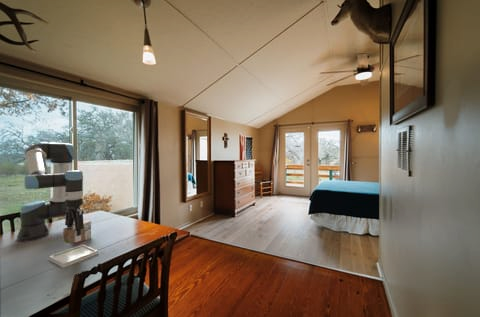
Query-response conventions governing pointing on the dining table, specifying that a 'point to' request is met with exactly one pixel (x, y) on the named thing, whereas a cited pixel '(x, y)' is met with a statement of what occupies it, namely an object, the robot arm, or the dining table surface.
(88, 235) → the ink box
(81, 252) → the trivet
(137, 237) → the dining table surface
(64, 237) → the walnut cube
